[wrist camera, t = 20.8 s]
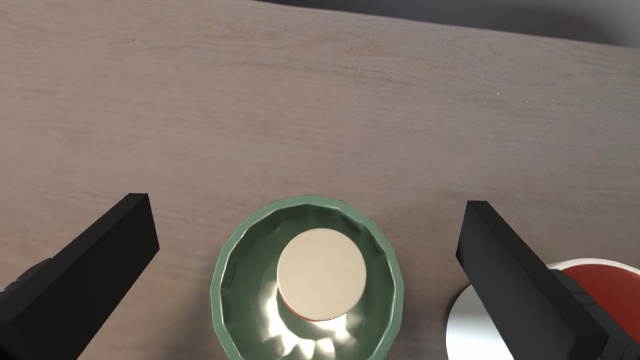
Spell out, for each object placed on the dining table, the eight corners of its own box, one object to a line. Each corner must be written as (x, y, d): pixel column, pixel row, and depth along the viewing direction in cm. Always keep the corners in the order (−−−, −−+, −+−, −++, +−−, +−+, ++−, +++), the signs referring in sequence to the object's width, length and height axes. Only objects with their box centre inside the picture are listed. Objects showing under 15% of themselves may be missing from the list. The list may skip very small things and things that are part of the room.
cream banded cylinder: (342, 273, 26) (378, 240, 14) (329, 324, 25) (356, 336, 13) (295, 259, 26) (291, 214, 14) (280, 309, 25) (260, 307, 13)
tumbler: (392, 278, 27) (437, 259, 16) (330, 388, 24) (337, 448, 14) (297, 216, 28) (284, 164, 18) (230, 313, 26) (170, 316, 15)
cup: (587, 439, 23) (772, 529, 14) (438, 413, 23) (516, 482, 14) (571, 286, 26) (709, 273, 17) (441, 266, 27) (506, 244, 18)
